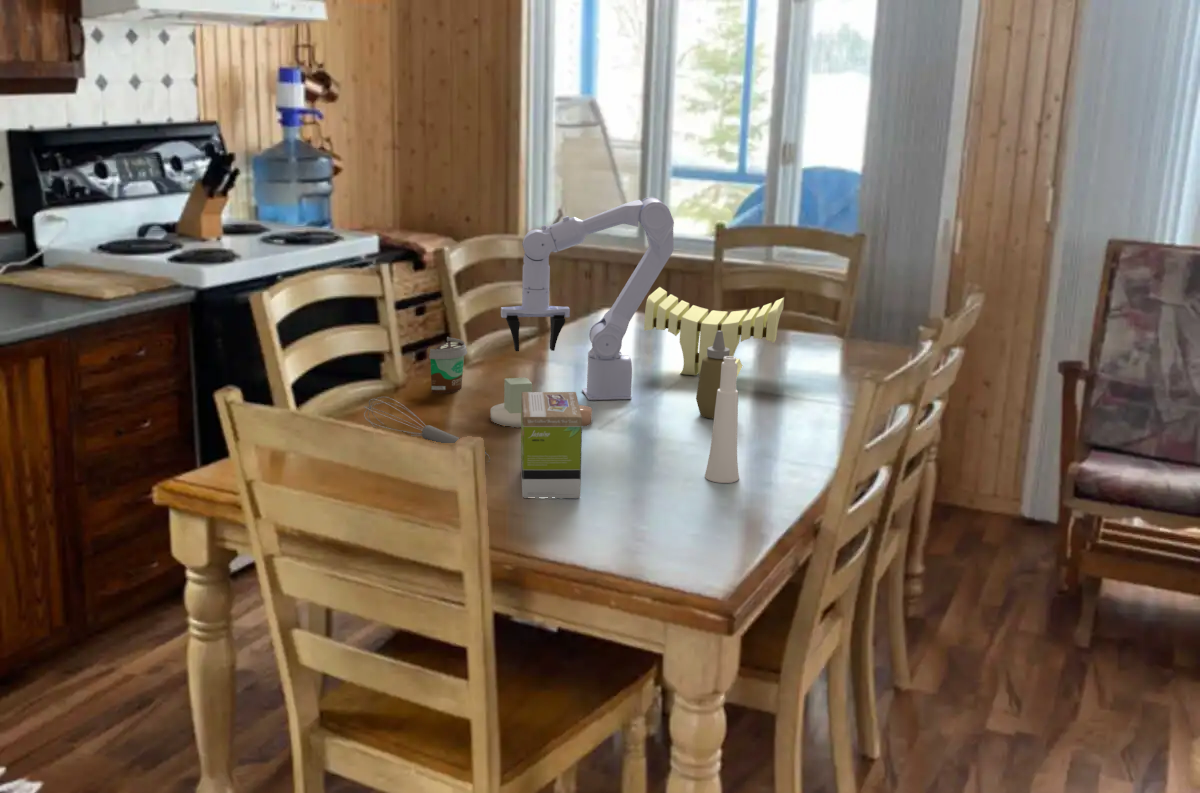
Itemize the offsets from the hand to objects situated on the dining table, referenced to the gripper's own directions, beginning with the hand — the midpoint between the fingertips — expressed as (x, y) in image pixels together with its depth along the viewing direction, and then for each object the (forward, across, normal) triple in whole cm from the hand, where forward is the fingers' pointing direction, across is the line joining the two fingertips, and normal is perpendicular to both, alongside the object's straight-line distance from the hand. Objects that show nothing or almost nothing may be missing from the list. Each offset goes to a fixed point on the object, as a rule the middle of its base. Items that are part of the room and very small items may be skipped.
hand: (534, 349), depth 259 cm
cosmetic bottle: (+10, -25, +56) cm, 62 cm away
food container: (+10, +17, -6) cm, 21 cm away
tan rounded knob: (+10, -6, +21) cm, 24 cm away
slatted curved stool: (+10, -45, -16) cm, 49 cm away
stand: (+10, +6, +18) cm, 21 cm away
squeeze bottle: (+10, -35, +19) cm, 41 cm away
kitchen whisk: (+10, +25, +30) cm, 41 cm away
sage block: (+8, +6, +18) cm, 20 cm away
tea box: (+10, +6, +56) cm, 57 cm away
